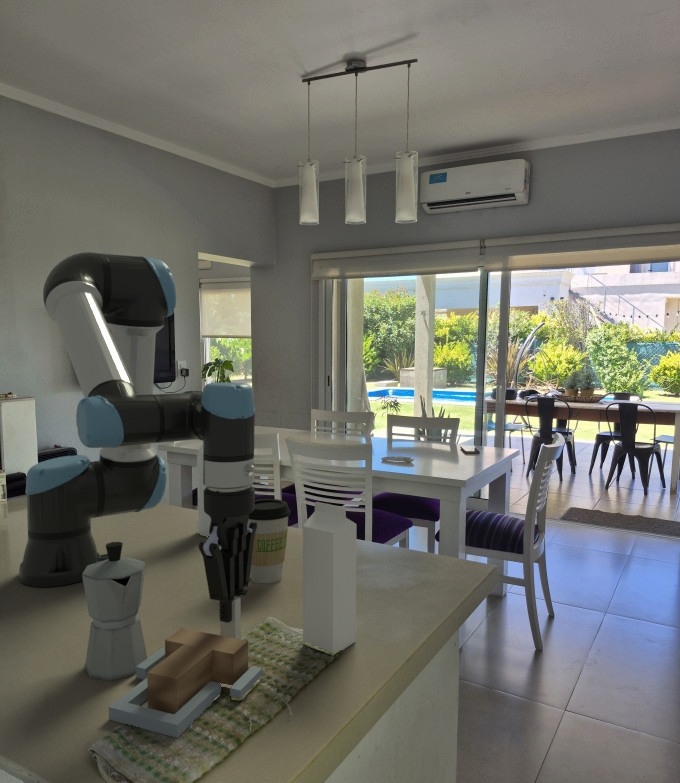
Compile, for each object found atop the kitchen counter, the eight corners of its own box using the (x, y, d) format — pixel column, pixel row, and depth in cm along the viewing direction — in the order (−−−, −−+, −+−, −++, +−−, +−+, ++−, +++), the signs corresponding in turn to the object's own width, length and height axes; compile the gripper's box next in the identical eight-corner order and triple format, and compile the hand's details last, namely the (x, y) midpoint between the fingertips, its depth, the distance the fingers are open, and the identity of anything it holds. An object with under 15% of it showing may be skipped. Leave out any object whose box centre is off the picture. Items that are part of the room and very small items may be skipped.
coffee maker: (160, 675, 86) (157, 550, 85) (94, 694, 82) (90, 562, 80) (132, 634, 99) (130, 524, 98) (73, 648, 94) (70, 533, 93)
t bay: (88, 713, 77) (87, 701, 77) (162, 657, 91) (162, 647, 91) (201, 744, 71) (200, 731, 71) (262, 679, 86) (262, 667, 85)
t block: (127, 705, 79) (126, 667, 79) (182, 661, 91) (181, 628, 90) (200, 723, 75) (199, 684, 75) (248, 675, 87) (248, 640, 86)
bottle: (218, 526, 159) (217, 410, 156) (236, 532, 153) (235, 412, 151) (191, 532, 153) (189, 412, 151) (209, 539, 147) (208, 415, 145)
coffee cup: (282, 589, 117) (282, 511, 116) (234, 584, 119) (233, 508, 118) (296, 570, 127) (296, 499, 126) (251, 567, 129) (250, 496, 128)
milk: (326, 631, 100) (326, 497, 99) (356, 642, 96) (357, 503, 95) (302, 645, 95) (302, 505, 94) (333, 657, 92) (333, 511, 90)
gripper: (227, 498, 85) (228, 664, 86) (272, 479, 97) (272, 625, 98) (181, 493, 87) (184, 653, 89) (230, 475, 99) (231, 617, 101)
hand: (230, 638), depth 94 cm, fingers closed
